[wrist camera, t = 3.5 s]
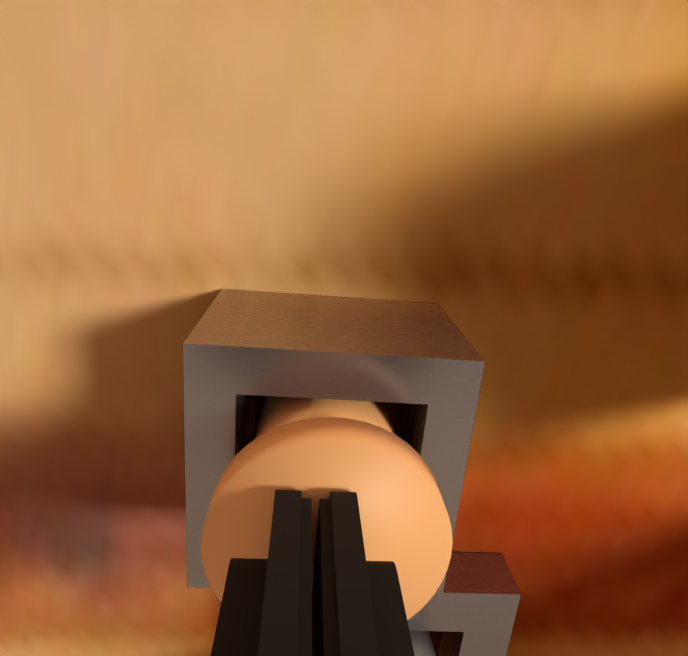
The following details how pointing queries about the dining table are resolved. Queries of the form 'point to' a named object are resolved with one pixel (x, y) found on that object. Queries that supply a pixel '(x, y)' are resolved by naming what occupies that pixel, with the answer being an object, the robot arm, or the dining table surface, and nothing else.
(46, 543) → the dining table surface
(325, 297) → the housing
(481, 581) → the collar
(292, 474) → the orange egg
